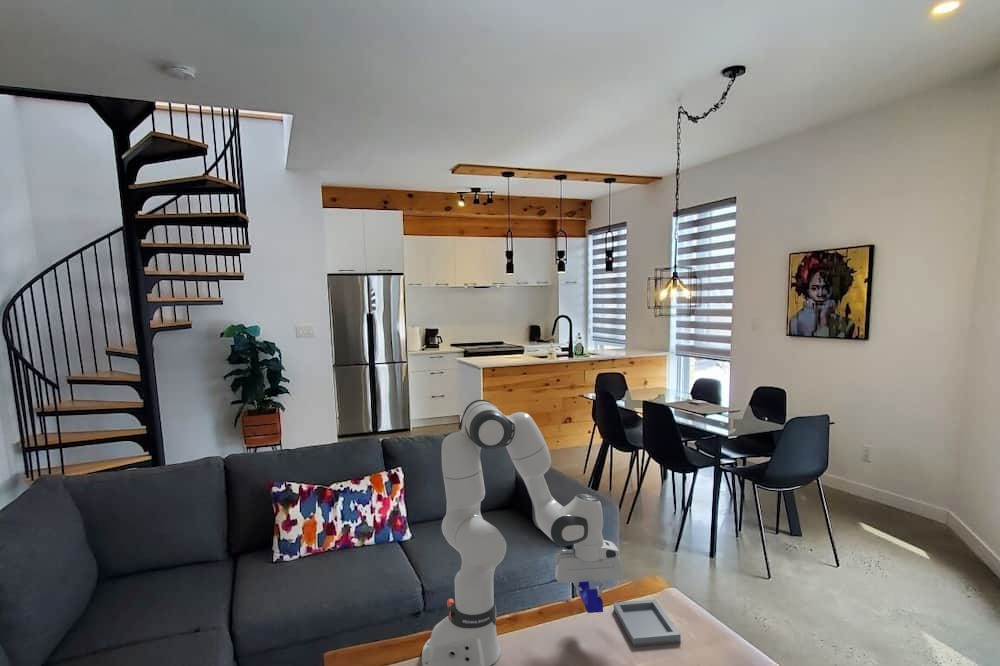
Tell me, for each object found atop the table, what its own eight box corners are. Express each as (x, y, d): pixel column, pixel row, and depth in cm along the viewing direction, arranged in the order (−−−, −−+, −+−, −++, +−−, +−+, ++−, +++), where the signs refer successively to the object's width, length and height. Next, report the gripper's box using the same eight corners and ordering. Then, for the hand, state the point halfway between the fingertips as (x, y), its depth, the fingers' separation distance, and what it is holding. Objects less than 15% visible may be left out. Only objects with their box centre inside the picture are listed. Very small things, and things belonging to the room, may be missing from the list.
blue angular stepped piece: (603, 612, 141) (602, 591, 141) (587, 613, 140) (587, 592, 140) (591, 589, 153) (591, 570, 152) (577, 590, 152) (577, 571, 152)
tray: (633, 647, 140) (633, 638, 139) (613, 610, 157) (613, 602, 157) (680, 642, 141) (680, 634, 141) (655, 607, 159) (655, 599, 159)
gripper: (556, 555, 143) (557, 602, 143) (624, 551, 144) (625, 597, 145) (552, 545, 149) (553, 590, 149) (617, 542, 151) (618, 586, 151)
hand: (589, 594), depth 147 cm, fingers closed on blue angular stepped piece, 4 cm apart
